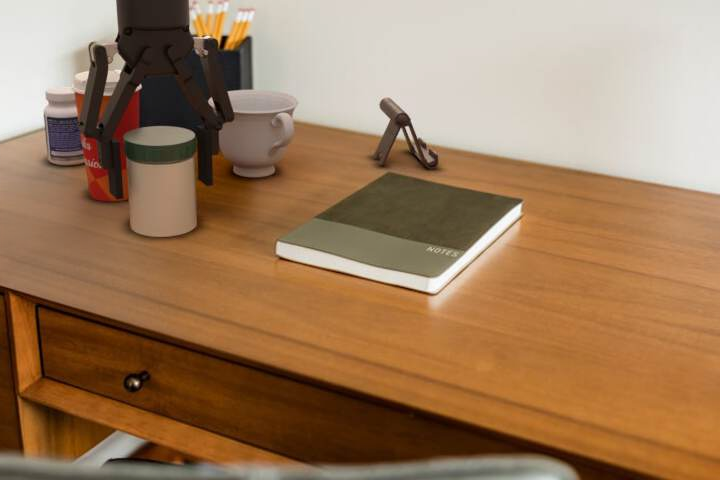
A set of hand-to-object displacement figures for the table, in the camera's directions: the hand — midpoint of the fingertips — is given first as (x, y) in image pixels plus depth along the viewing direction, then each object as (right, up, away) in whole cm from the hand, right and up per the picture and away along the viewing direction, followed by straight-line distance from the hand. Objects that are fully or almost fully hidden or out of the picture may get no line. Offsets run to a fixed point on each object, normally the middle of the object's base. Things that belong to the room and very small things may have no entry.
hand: (162, 188), depth 103 cm
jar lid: (0, +5, -2) cm, 6 cm away
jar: (0, -4, +2) cm, 4 cm away
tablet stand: (+29, +5, +28) cm, 41 cm away
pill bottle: (-18, +5, +22) cm, 29 cm away
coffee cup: (-8, 0, +11) cm, 14 cm away
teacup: (+9, +3, +20) cm, 22 cm away
